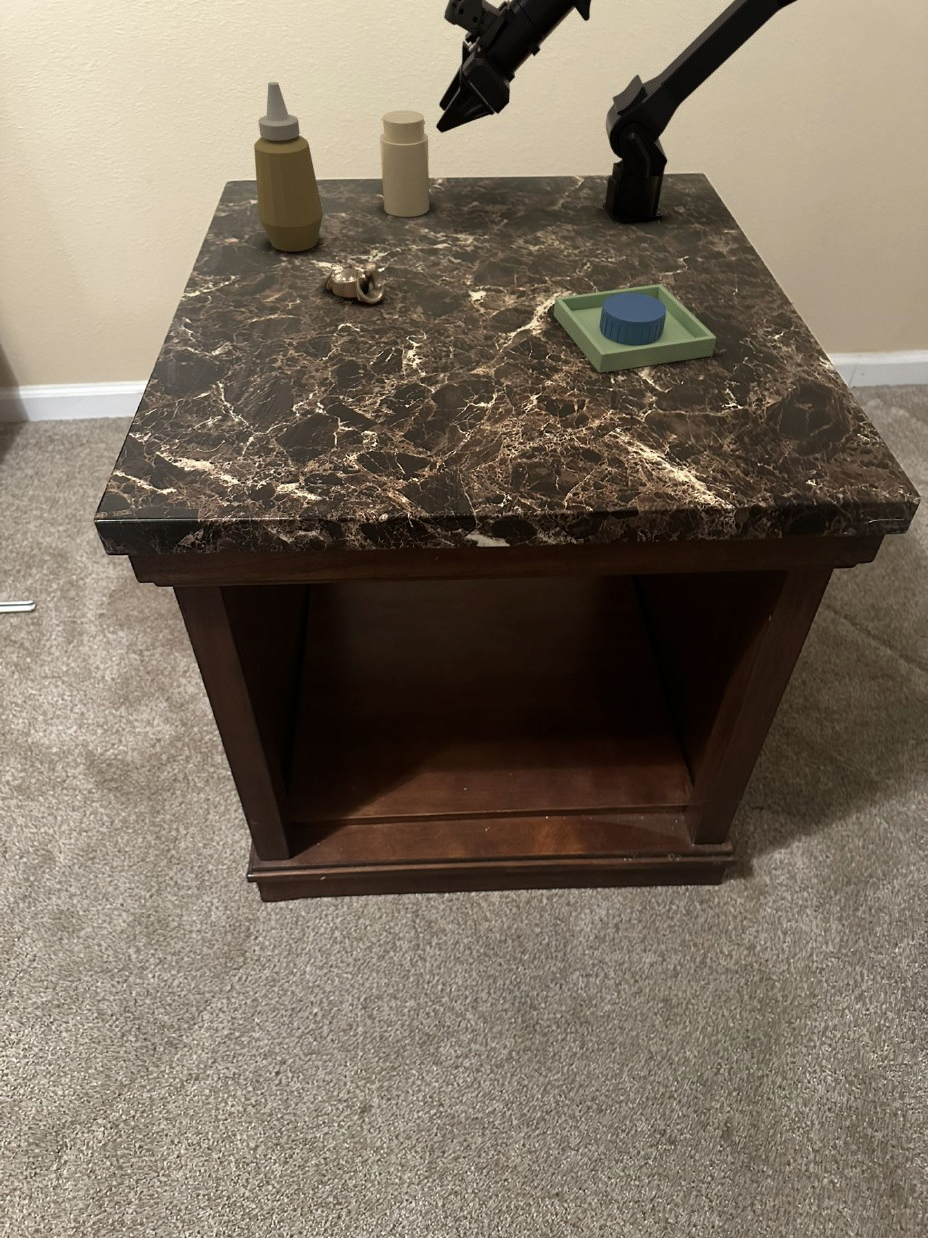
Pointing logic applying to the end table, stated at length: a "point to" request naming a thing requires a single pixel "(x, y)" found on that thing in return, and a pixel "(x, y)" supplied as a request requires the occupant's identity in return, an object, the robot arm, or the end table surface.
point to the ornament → (355, 280)
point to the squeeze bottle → (286, 179)
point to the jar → (405, 164)
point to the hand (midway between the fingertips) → (439, 118)
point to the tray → (675, 344)
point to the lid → (632, 319)
